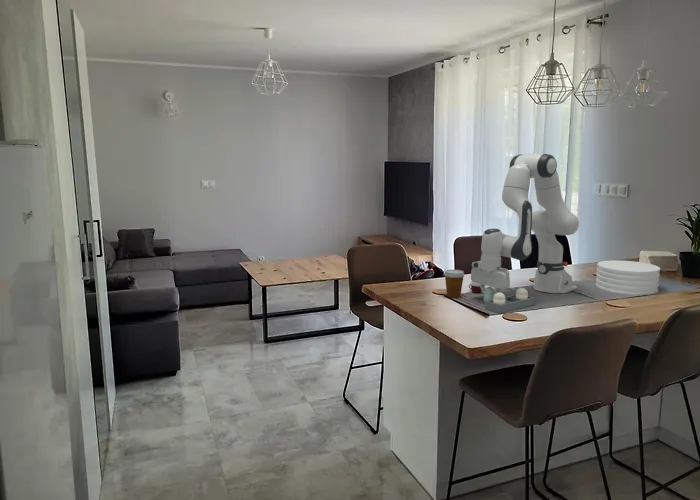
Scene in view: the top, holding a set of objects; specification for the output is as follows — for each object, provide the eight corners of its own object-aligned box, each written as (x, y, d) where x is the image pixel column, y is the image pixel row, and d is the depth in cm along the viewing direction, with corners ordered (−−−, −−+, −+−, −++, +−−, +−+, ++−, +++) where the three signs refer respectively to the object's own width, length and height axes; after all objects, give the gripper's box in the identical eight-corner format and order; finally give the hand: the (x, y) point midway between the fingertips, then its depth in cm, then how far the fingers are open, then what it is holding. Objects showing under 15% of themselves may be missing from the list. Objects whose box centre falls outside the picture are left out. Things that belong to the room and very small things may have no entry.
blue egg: (488, 301, 247) (489, 285, 246) (497, 303, 243) (497, 287, 242) (481, 302, 245) (481, 286, 243) (489, 305, 240) (490, 288, 239)
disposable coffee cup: (448, 299, 250) (449, 274, 248) (440, 294, 260) (440, 270, 257) (467, 297, 253) (468, 272, 251) (458, 293, 262) (458, 268, 260)
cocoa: (466, 291, 266) (466, 268, 264) (476, 289, 269) (475, 266, 267) (480, 295, 258) (479, 270, 256) (490, 293, 261) (489, 268, 259)
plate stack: (643, 282, 284) (645, 260, 282) (668, 295, 257) (671, 272, 255) (588, 281, 287) (589, 259, 285) (607, 294, 260) (609, 271, 258)
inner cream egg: (520, 302, 241) (521, 286, 240) (529, 305, 237) (530, 288, 236) (512, 304, 238) (513, 287, 237) (522, 306, 234) (523, 289, 233)
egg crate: (519, 303, 243) (520, 293, 242) (534, 307, 237) (534, 297, 236) (485, 311, 231) (485, 301, 230) (499, 315, 225) (500, 305, 224)
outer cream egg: (498, 307, 233) (499, 290, 232) (507, 310, 229) (508, 293, 228) (490, 309, 231) (491, 292, 229) (499, 312, 226) (500, 294, 225)
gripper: (514, 268, 234) (512, 299, 236) (478, 261, 251) (477, 289, 253) (504, 270, 231) (502, 301, 233) (469, 262, 247) (468, 291, 250)
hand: (489, 295), depth 243 cm, fingers closed on blue egg, 5 cm apart
